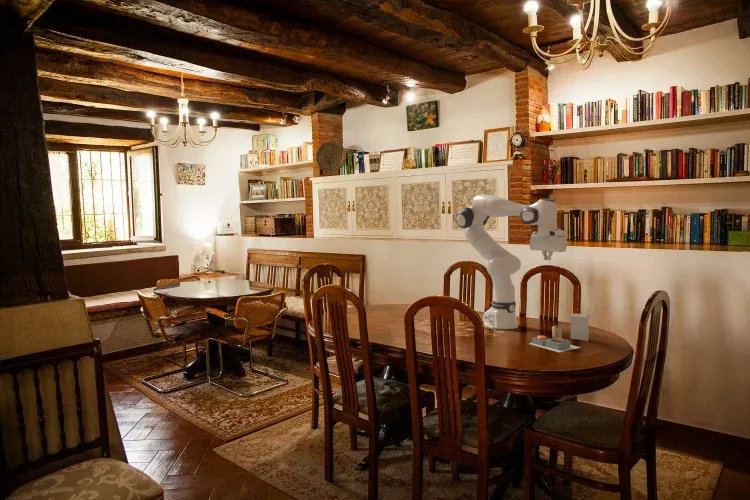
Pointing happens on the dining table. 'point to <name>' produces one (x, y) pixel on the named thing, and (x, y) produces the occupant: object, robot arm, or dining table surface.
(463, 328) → the dining table surface
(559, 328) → the cell
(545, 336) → the test button
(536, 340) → the grey test fixture
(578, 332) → the supplement box
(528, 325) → the dining table surface
